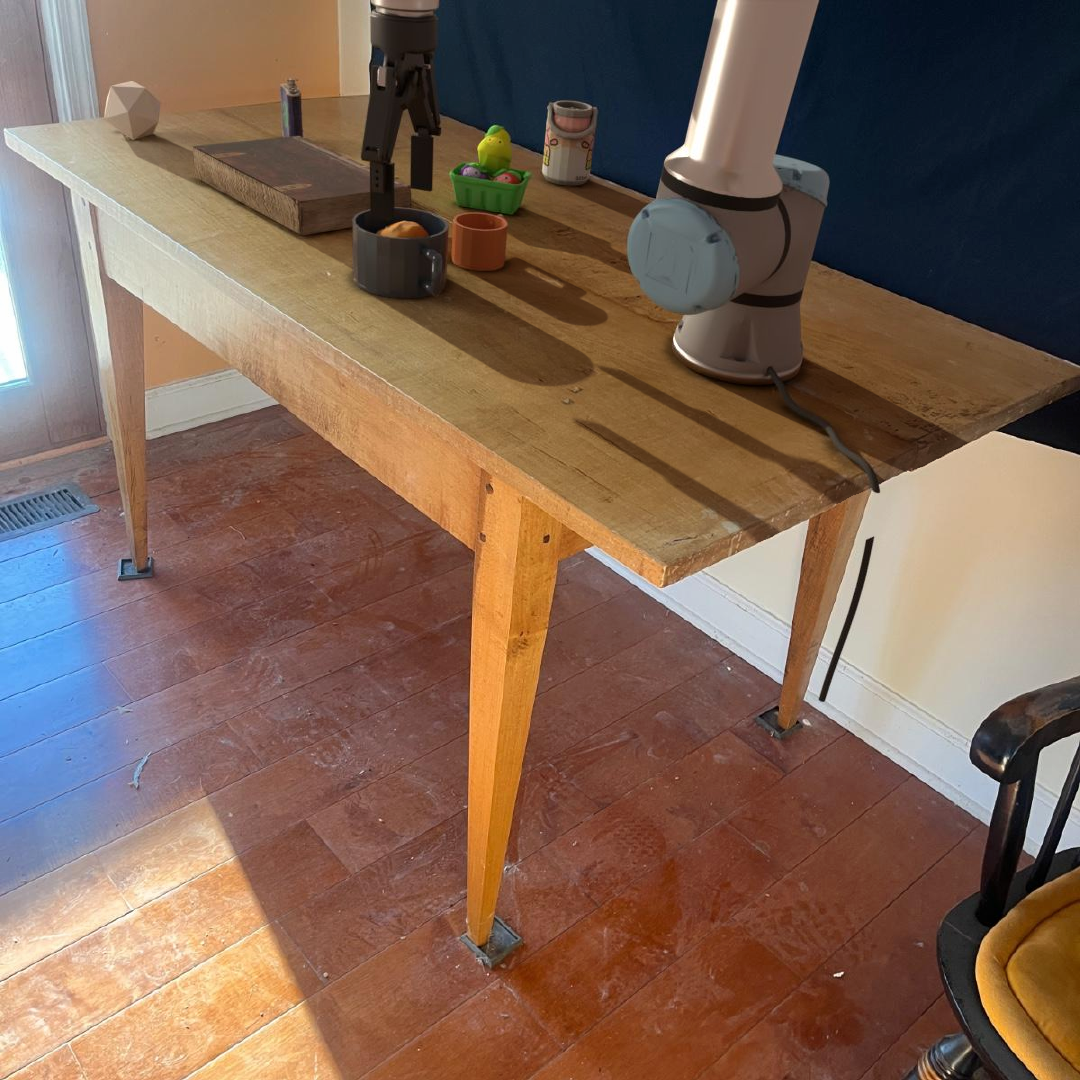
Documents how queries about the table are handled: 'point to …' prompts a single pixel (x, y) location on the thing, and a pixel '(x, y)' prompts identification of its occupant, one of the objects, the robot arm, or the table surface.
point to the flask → (291, 109)
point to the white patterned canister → (569, 142)
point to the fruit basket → (491, 177)
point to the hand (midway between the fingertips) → (402, 203)
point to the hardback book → (292, 181)
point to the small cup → (479, 241)
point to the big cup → (400, 255)
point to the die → (132, 110)
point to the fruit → (404, 230)
